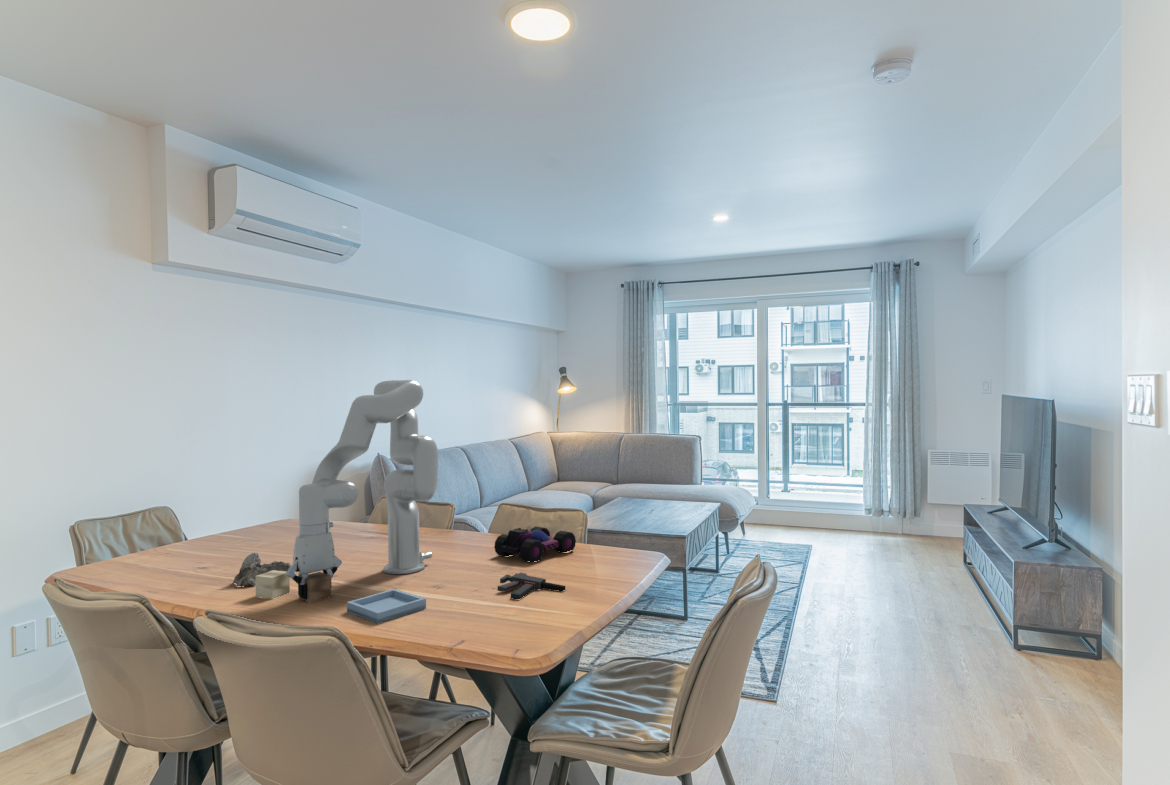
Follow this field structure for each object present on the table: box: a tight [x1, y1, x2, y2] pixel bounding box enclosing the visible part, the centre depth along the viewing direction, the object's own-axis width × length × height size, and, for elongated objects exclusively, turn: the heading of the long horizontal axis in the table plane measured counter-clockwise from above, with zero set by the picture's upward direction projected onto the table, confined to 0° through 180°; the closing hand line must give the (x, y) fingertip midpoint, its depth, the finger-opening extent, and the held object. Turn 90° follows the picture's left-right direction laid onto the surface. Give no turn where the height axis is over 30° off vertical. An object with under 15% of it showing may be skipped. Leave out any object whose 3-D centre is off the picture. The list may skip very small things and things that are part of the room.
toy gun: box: [497, 571, 566, 600], centre depth 179 cm, size 3×19×15 cm
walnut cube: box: [298, 571, 332, 604], centre depth 176 cm, size 6×6×6 cm
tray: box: [346, 588, 427, 624], centre depth 165 cm, size 14×14×2 cm
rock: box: [232, 552, 292, 587], centre depth 197 cm, size 18×11×10 cm, turn 148°
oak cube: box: [255, 570, 291, 600], centre depth 180 cm, size 6×6×6 cm
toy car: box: [493, 525, 577, 563], centre depth 222 cm, size 17×25×10 cm, turn 139°
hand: (315, 594), depth 176 cm, fingers closed on walnut cube, 6 cm apart
